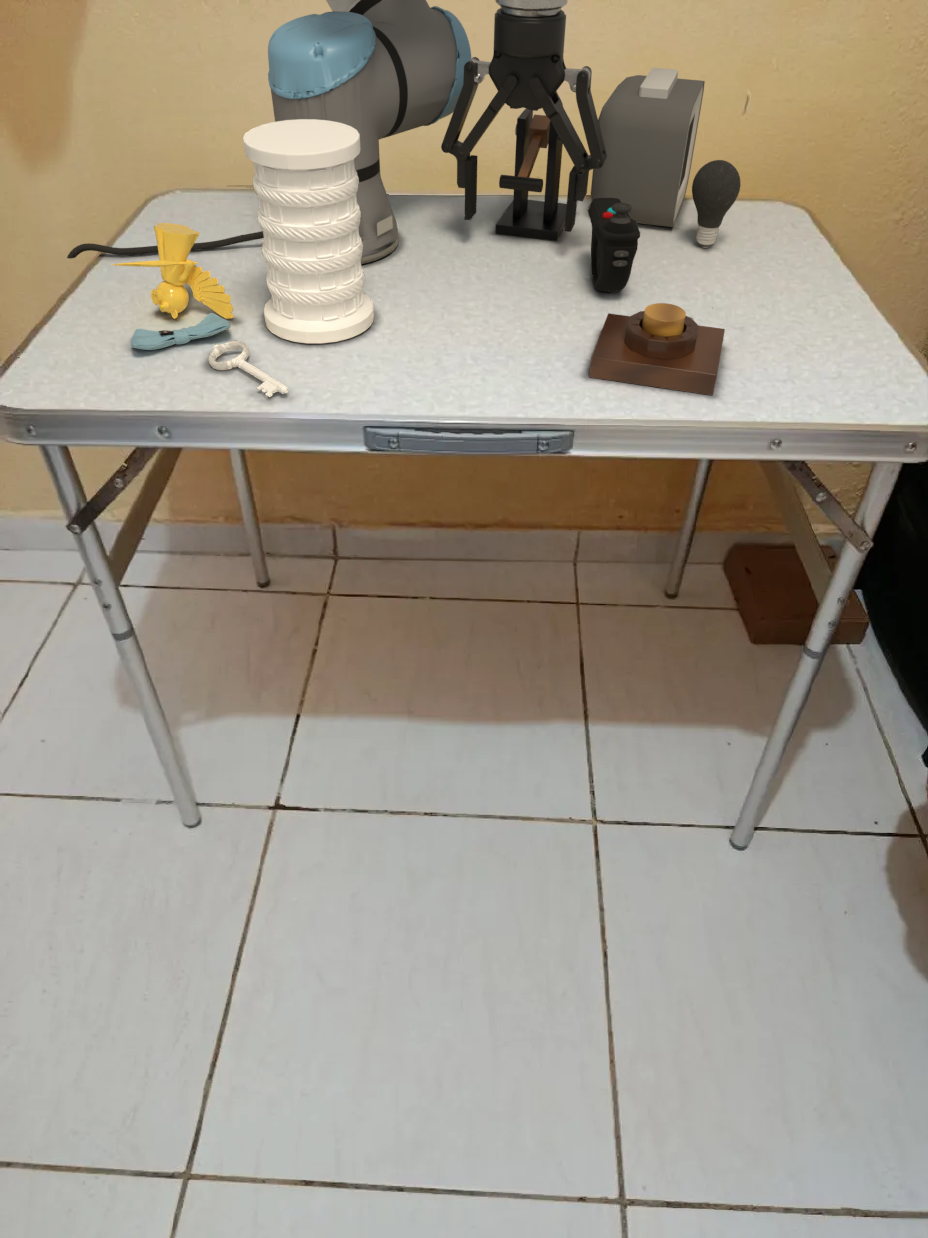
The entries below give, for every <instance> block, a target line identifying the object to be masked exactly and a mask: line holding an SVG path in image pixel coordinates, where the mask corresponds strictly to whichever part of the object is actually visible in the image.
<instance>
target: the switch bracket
mask: <svg viewBox="0 0 928 1238" xmlns="http://www.w3.org/2000/svg"><path fill="white" fill-rule="evenodd" d="M533 116H534V111H533V110H529V109H526V108H524V110H523V111H522V112H521V113H520V115H518V117H517V119H516V124H515V129H514V133H515V134H514V135H515V137H516V138H515V158H514V175H513V176H518V174H519V172H520V169H521V166H522V164H523V161H524V158H525V156H526V153H527V150H528V148H529V127H530V124H531V122H532V119H533ZM563 147H564V145H563V143H562V141H561V139H560V138H559V136H558V134H557V132H556V130H555V128H554V126H553V124H552V123H551V121H550V128H549V142H548V146H547V158H546V173H545V185H544V186H545V188H544V200H535V199H529V191H522V190H513V198H512V201H511V202H510V203H509V205H508V206H507V208H506V209H505V211H504V212H503V214H502V215H501V217H500V218H499V219H498V221H497V222H496V223H495V231H494V232H495V233H494V234H496V235H501V236H509V237H519V238H527V239H536V240H544V241H551V242H557V241H558V240H559V238H560V237H561V234H562V232H563V231H564V230H565V219H566V207H567V203H561V202H559V195H560V184H561V183H560V182H561V170H562V157H563Z"/></svg>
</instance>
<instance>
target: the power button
mask: <svg viewBox="0 0 928 1238" xmlns="http://www.w3.org/2000/svg"><path fill="white" fill-rule="evenodd" d="M643 311H644V316H643V323H642V329H643V330H644V331H646V332H648V333H651V334H653V335H659V336H675V335H680V334H682V332H683V328H684V323H685V317H686V316H687V313H686V311H685V309H684V308H682V307H681V306H679V305H675V304H671V303H665V302H657V303H652V304H649V305H647V306H646V307H645V308H644V310H643Z"/></svg>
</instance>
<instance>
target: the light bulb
mask: <svg viewBox="0 0 928 1238" xmlns="http://www.w3.org/2000/svg"><path fill="white" fill-rule="evenodd" d="M740 191H741V176H740V174H739V171H738V169H737V168H736V167H735V165H733V164H732V163H731V162H729V161H727V160H724V159H715V160H711V161H709V162H707V163H706V164H704V165H703V166H701V168H699V169H698V171H697V172H696V174H695V175H694V178H693V180H692V185H691V196H692V199H693V203H694V207H695V209H696V214H697V231H696V242H697V243H698V244H699V245H700V247H701V248H703V249H707V248H709V247H710V246H711V245H713V244H715V243H716V242H717V238H718V235H719V234H718V233H719V230H720V229H719V228H720V227H721V225H722V223H723V220H724V218H725V215H726V213H727V212H729V210H730V209H731V207H732V206H733V205H734V204H735V202H736V200H737V199H738V196H739V194H740Z"/></svg>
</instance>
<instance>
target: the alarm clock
mask: <svg viewBox="0 0 928 1238" xmlns="http://www.w3.org/2000/svg"><path fill="white" fill-rule="evenodd" d="M678 76H679V70H678V69H673V68H660V67H652V68H651V69H649V72H648V73H647V75H642V74H637V75H631V76H626V77H625V78H624V79H623V80H622V81H621V82H620V83H619V84H618V85H617V86H616V87H615V89H614V90H613V91H612V93H611V95H610V96H609V97H608V98H607V99H606V102H605V103H604V104H603V106H602V107H601V110H600V113H599V116H598V122H599V126H600V130H601V134H602V138H603V142H604V146H605V150H606V154H607V158H606V160H605V162H604V164H603V166H602V167H601V168H599V169H597V168H595V169H592V176H591V185H590V187H591V188H590V199H591V201H592V200H593V199H596V198H617V199H620V201H621V202H622V203H627V204H629V205H631V207H632V210H631V211H630V212H629V213H628V215H629V216H630V218H631V219H633V220H635V221H636V223H637V224H643V225H651V226H658V227H659V226H660V227H668V228H674V227H675V225H676V222H677V219H678V217H679V214H680V210H681V208H682V206H683V204H684V201H685V197H686V194H687V189H688V185H689V180H690V174H691V169H692V163H693V158H694V157H693V156H694V151H695V144H696V141H697V140H696V139H697V135H698V134H697V133H698V128H699V121H700V116H701V110H702V104H703V97H704V92H705V83H706V81H705V80H699V79H687V78H678Z"/></svg>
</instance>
